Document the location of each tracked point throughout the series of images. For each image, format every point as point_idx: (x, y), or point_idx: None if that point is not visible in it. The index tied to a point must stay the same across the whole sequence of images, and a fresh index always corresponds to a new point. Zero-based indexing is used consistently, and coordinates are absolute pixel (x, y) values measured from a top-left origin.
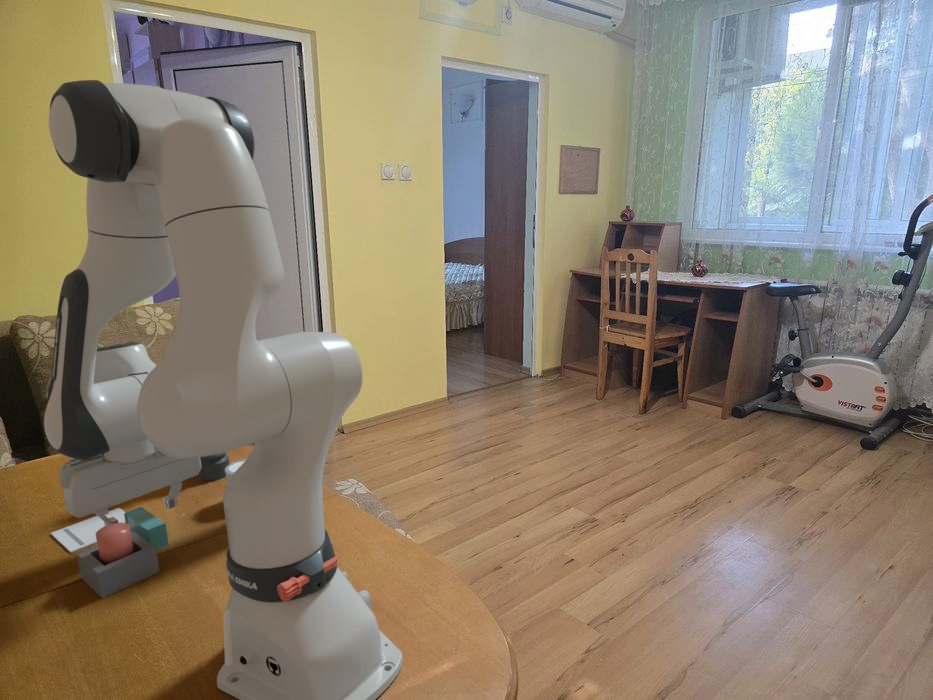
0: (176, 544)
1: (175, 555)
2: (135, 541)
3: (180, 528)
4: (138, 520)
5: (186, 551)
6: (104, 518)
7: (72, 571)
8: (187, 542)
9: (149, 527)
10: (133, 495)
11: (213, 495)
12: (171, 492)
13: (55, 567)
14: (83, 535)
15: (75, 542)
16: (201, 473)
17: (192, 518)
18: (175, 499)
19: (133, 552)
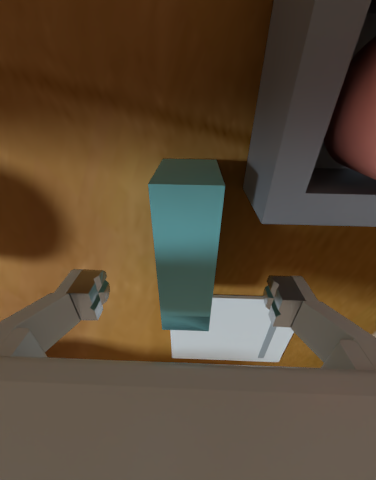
0: (144, 140)
1: (176, 59)
2: (322, 123)
3: (106, 218)
4: (205, 276)
5: (136, 49)
6: (346, 325)
7: (365, 237)
8: (113, 119)
9: (208, 202)
10: (241, 387)
11: (6, 291)
12: (59, 323)
13: (359, 276)
14: (258, 329)
15: None
16: None
17: (68, 239)
18: (62, 287)
19: (371, 53)
